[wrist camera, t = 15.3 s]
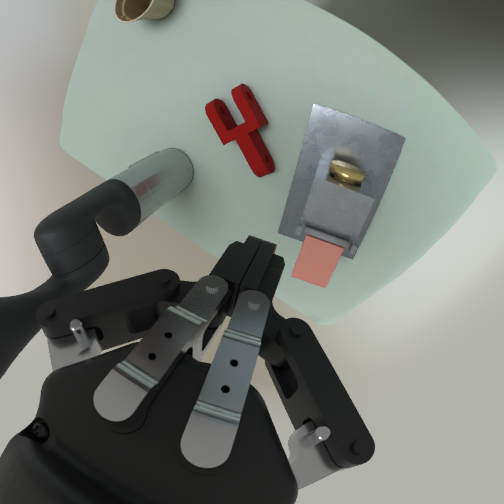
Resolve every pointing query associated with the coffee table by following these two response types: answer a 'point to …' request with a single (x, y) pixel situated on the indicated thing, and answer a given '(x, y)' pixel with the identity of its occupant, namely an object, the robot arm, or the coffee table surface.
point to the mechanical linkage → (243, 128)
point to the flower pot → (141, 9)
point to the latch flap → (318, 257)
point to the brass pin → (346, 172)
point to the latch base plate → (334, 190)
